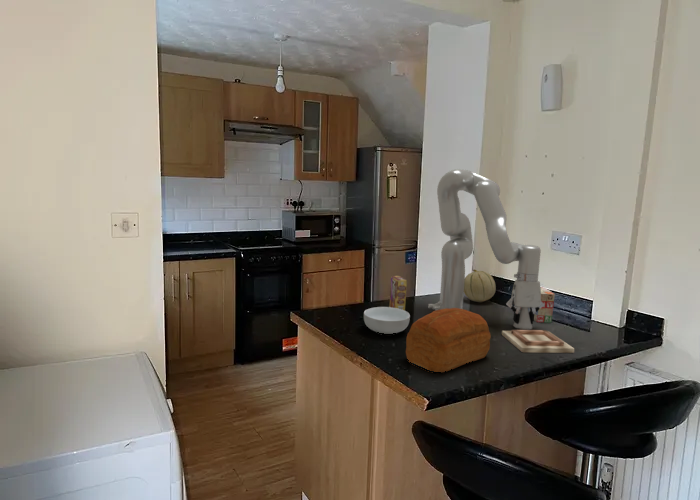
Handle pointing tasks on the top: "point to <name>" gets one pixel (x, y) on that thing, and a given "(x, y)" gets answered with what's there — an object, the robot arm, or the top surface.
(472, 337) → the bread
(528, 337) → the board
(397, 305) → the candy box
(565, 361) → the top surface
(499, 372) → the top surface
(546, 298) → the stack of blocks
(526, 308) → the flask
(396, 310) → the cereal bowl
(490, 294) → the cantaloupe
